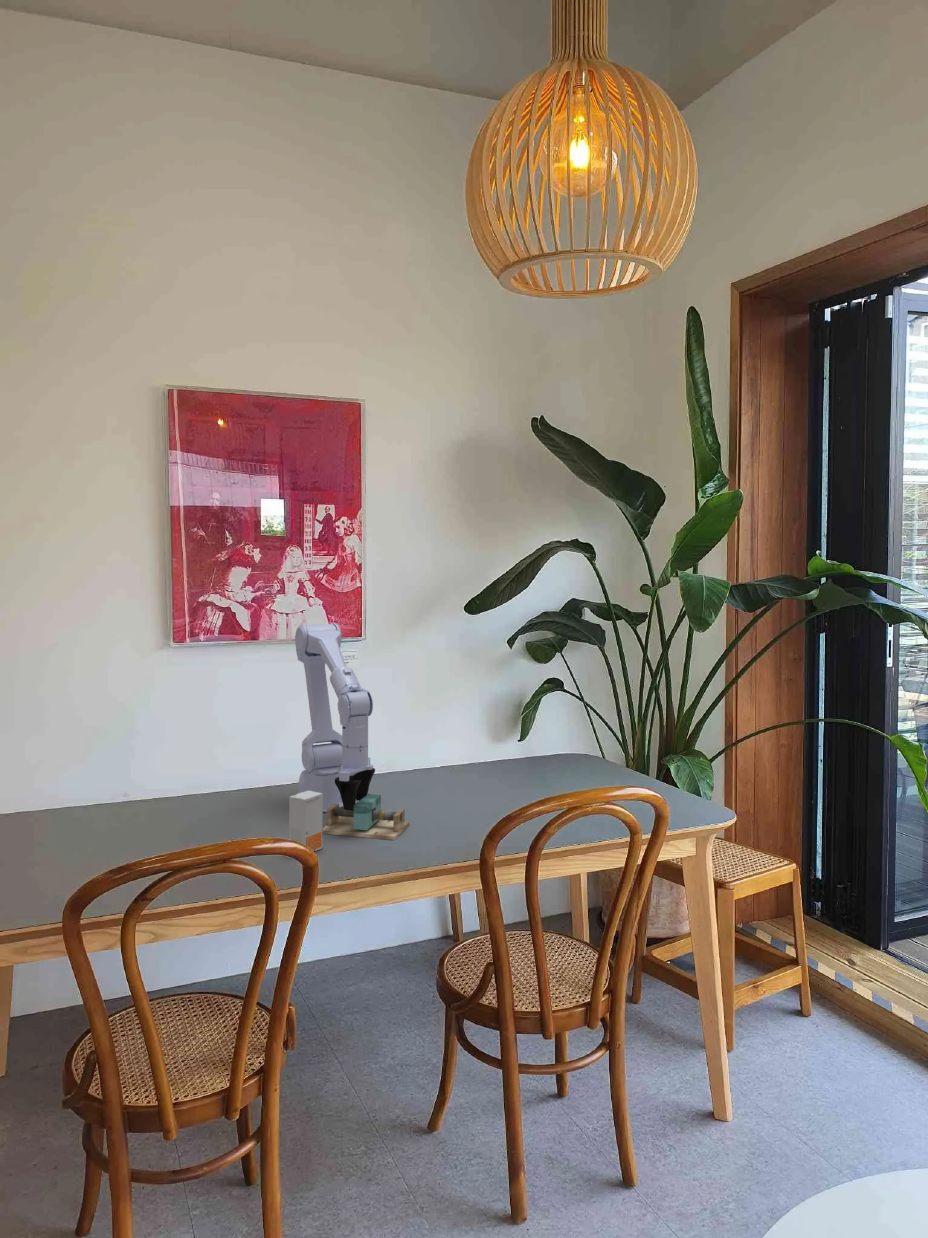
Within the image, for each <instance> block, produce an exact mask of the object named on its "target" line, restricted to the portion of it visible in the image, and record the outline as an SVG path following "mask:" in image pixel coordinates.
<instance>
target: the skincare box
mask: <svg viewBox="0 0 928 1238" xmlns="http://www.w3.org/2000/svg"><path fill="white" fill-rule="evenodd" d="M288 800H289V802H288V803H289V805H288V809H289V812H288V816H289V817H288V820H289V821H288V828H289V829H288V831H289V833H288V834H289V835H288V840H289V839H291V840H296V841H299V842H300V843H303V844H305V845H306V846H308V847H310V848H311V849H313V850H315V852H317V851H319V850H322V849H323V834H322V828H323V813H324V812H323V794H322V793H318V792H313V791H305V792H302V793H299V792H297V793H296V794H294V795H291V796H289V797H288Z"/></svg>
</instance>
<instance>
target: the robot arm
mask: <svg viewBox="0 0 928 1238" xmlns="http://www.w3.org/2000/svg"><path fill="white" fill-rule="evenodd" d="M342 638H343V637H342V630H341V628H340V626H339V625H338V624H337V623H335V622H334V623H329V624H328V623H327V624H305V625H304V624H300V625H298V627H297V628H296V631H295V635H294V642H295V653H296V656H297V661H298V662H301V663H302V664H303V666H304V667H303V668H304V673H305V681H306V684H305V685H306V690H307V699H308V706H309V707H308V708H309V715H310V716H309V717H310V722H311V723H310V724H311V732H310V733H308V734H307V735H306V737H305V738H303V740H302V742H301V751H302V752H301V763H302V766H303V769H304V770H302V771H301V773H300V775H299V779H298V793H302V792H305V791H313V792H318V793H322V794H323V813H327V809H328V808H330V807H331V806H332V805H334V804H339V807H344V810H351V811H353V810H354V805H355V804H356V803H357V802H359V801H360V800H361V799H362V798H364V797H365V796H366V795H368V794H369V789H370V784H371V781H372V779H373V778H374V777H373V776H374V775H375V772H376V769H375V768H374V764H371V757H369V717H370V716H372V714H373V711H374V710H373V709H374V701H373V696H372V694H371V692H370V690H367V689H366V688H365V687H362V686H361V684H360V681H359V680H358V678H357V675H356V673H355V672H354V669H353V668H351V667H349V666H347V665H346V662H345V659H344V657H343V654H342V651H341V650H342V649H341V645H342ZM326 666H327V667H328V669H329V671H330V673H331V674H330V676H329V681H330V684H331V685H332V688H333V691H334V693H335V695H336V697H337V711H338V715H339V722H340V726H342V727H341V731H342V733H339V732H337V730H335V729H334V727H333V722H332V712H331V705H330V699H329V698H330V697H329V688H328V681H327V673H326V672H327V671H326Z"/></svg>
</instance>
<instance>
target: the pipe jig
mask: <svg viewBox="0 0 928 1238" xmlns="http://www.w3.org/2000/svg"><path fill="white" fill-rule="evenodd" d="M405 810H406V809H405V808H404V809H403V808H400V809H398V811H391V810H384V809H383V810H382V809H381V811H380V810H372V819H377V820H378V821H377V822H375V823H374V824H373V825H372V826H371V827H370V828H369V829H368V830H358V829H354V810H353V811H351V810H344V807H339V804H334V805H332V806H331V807H330V808H328V809H327V812H326V825H324V826H323V827H322V835H333V836H334V835H336V836H345V837H356V838H357V837H358V838H368V839H377V840H378V839H379V840H389V841H395V840H396V839H397V838H398V837H399V836H401V834H403V832H404V831H405V830H406V829H407V828H408V827H409V826H410V821H408V820H407V821H406V820H405V819H406V817H405V816H406V815H405V814H406V813H405Z"/></svg>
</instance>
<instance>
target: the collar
mask: <svg viewBox="0 0 928 1238" xmlns="http://www.w3.org/2000/svg"><path fill="white" fill-rule="evenodd" d="M372 810H380V811H381V810H382V794H374V793H368V794H367V795H366V796H365V797H364V798H362V799H361V800H360V801H356V803H355V805H354V829H358V830H368V829H369V828H370V827H371V826H372V825H373V824H374V823H375V822H377V821H378V820H377V819H372Z"/></svg>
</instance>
